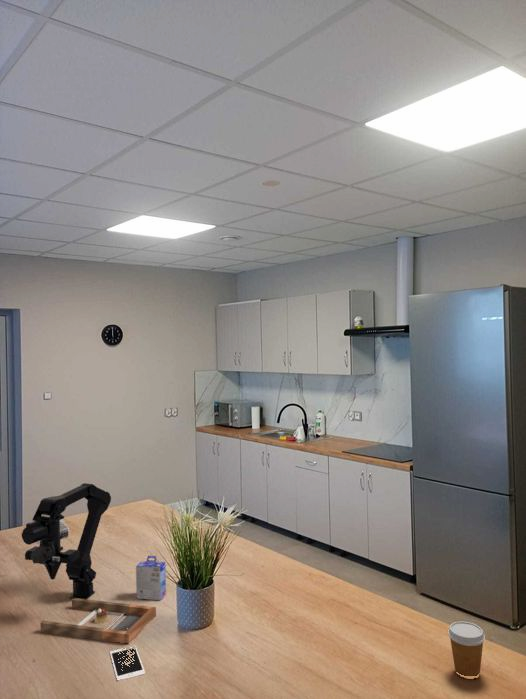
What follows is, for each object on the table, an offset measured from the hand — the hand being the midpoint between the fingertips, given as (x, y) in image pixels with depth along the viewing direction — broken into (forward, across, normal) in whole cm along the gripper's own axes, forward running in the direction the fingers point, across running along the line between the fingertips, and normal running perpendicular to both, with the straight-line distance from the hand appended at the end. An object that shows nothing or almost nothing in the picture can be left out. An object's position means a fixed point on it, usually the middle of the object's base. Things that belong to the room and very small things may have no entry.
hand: (52, 579), depth 190 cm
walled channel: (+12, +20, -3) cm, 24 cm away
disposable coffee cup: (+12, +136, -4) cm, 137 cm away
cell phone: (+13, +41, -21) cm, 48 cm away
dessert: (+13, +20, -1) cm, 23 cm away
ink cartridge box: (+12, +28, +19) cm, 36 cm away
